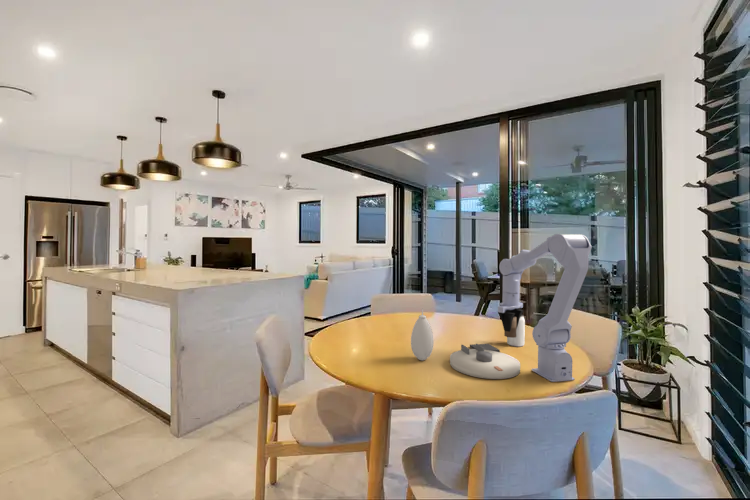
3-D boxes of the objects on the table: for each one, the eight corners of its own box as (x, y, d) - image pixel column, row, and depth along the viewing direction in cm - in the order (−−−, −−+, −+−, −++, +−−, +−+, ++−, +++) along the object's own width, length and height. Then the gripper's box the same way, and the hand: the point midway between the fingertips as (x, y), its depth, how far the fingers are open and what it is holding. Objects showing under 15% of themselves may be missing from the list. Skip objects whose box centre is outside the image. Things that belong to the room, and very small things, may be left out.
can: (506, 345, 136) (506, 315, 135) (508, 341, 141) (508, 312, 141) (523, 347, 133) (524, 317, 132) (525, 343, 138) (525, 314, 138)
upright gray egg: (432, 364, 114) (433, 310, 114) (409, 362, 116) (410, 309, 115) (433, 356, 122) (434, 306, 121) (411, 355, 123) (412, 305, 123)
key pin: (518, 337, 122) (518, 317, 121) (508, 337, 121) (508, 318, 121) (512, 334, 126) (512, 315, 125) (502, 334, 125) (502, 315, 125)
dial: (535, 376, 104) (535, 363, 104) (468, 381, 100) (468, 367, 100) (496, 352, 126) (496, 342, 125) (439, 356, 121) (439, 345, 121)
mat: (499, 352, 127) (499, 349, 127) (479, 353, 125) (479, 351, 125) (488, 346, 135) (488, 343, 135) (469, 347, 133) (469, 344, 133)
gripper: (510, 289, 131) (509, 324, 131) (490, 293, 121) (489, 331, 121) (528, 291, 125) (528, 328, 126) (509, 295, 116) (508, 335, 116)
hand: (510, 330), depth 123 cm, fingers closed on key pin, 4 cm apart
